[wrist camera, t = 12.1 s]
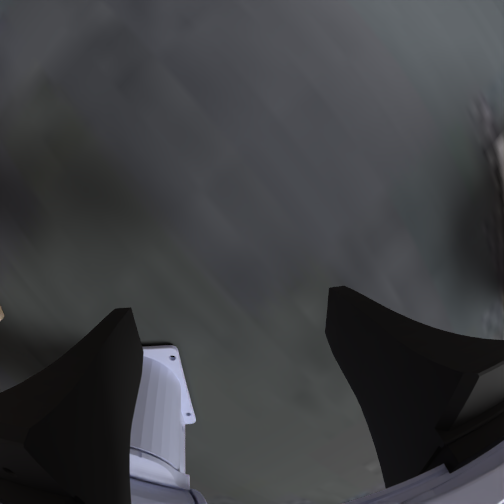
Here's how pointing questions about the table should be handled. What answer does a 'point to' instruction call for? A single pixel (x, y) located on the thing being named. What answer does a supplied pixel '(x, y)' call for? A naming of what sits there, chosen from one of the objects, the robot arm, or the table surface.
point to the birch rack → (1, 314)
